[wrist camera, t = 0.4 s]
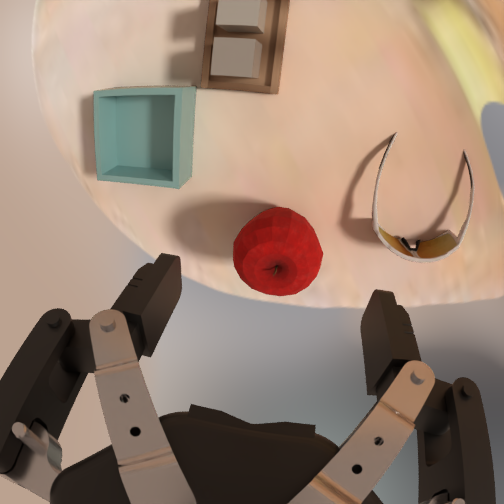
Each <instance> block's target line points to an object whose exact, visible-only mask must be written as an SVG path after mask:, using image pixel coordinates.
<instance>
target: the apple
mask: <svg viewBox="0 0 504 504" xmlns="http://www.w3.org/2000/svg"><path fill="white" fill-rule="evenodd" d="M322 257H323V252H322V249H321V246H320V243H319V241H318V238H317V236H316V233H315V231H314V229H313V228H312V226H311V225H310V224H309V222H308V221H307V220H306V218H305V217H303V216H301V215H300V214H298V213H296V212H294V211H293V210H291V209H289V208H282V207H275V208H272V209H268V210H266V211H264V212H261V213H260V214H259V215H257V216H256V217H254V218H253V219H252V220H250V221H249V222H248V223H247V224H246V225H245V226H244V227H243V228H242V229H241V231H240V233H239V234H238V236H237V238H236V239H235V241H234V246H233V261H234V267H235V269H236V271H237V273H238V274H239V276H240V278H241V279H242V280H243V281H244V282H245V283H246V284H247V285H248V286H249V287H251V288H252V289H254V290H257V291H259V292H262V293H264V294H269V295H276V296H286V295H293V294H297V293H298V292H300V291H302V290H303V289H305V288H307V287H308V286H309V285H310V284H311V282H312V281H313V280H314V279H315V277H316V276H317V274H318V272H319V269H320V266H321V261H322Z"/></svg>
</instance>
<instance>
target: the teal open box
mask: <svg viewBox="0 0 504 504" xmlns="http://www.w3.org/2000/svg"><path fill="white" fill-rule="evenodd" d="M196 87H197V86H134V87H116V88H108V89H102V90H97V91H94V139H95V156H96V170H97V180H100V181H111V182H122V183H132V184H141V185H150V186H159V187H168V188H176V189H180V188H181V187H182V186H183V185H184V184H185V183H186V182H187V181H188V180H189V179H190V178H191V177H192V157H193V135H194V117H195V101H196Z"/></svg>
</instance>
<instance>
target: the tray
mask: <svg viewBox="0 0 504 504" xmlns="http://www.w3.org/2000/svg"><path fill="white" fill-rule="evenodd" d="M218 2H219V0H210V2H209V10H208V18H207V27H206V36H205V45H204V55H203V66H202V77H201V88H217V89H232V90H243V91H253V92H262V93H271V94H278V91H279V83H280V75H281V67H282V59H283V51H284V43H285V35H286V27H287V19H288V11H289V2H290V0H267V11H266V19H265V28H264V34H262V33H248V32H228V31H226V30H224V29H223V28H221V27H219V26H217V25H216V18H217V9H218ZM214 37H225V38H246V39H256V40H257V41H258V42H260V43H261V44H262V53H261V61H260V70H259V78H249V77H238V76H223V75H211V64H212V54H213V44H214Z"/></svg>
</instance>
